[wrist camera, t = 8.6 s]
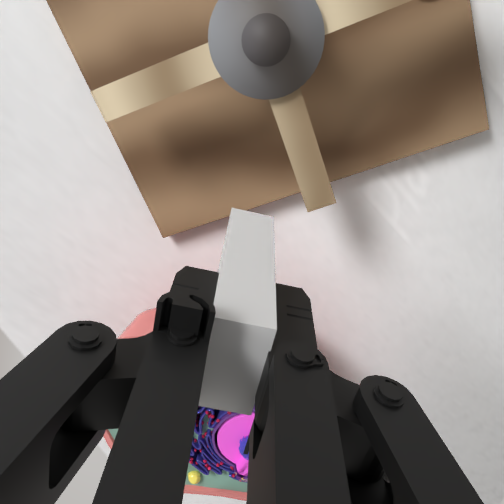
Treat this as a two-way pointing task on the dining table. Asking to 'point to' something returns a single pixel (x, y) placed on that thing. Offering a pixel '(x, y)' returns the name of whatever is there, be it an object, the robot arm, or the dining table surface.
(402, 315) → the dining table surface
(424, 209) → the dining table surface
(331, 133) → the stand
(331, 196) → the capstan
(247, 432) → the cell model
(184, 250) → the dining table surface
